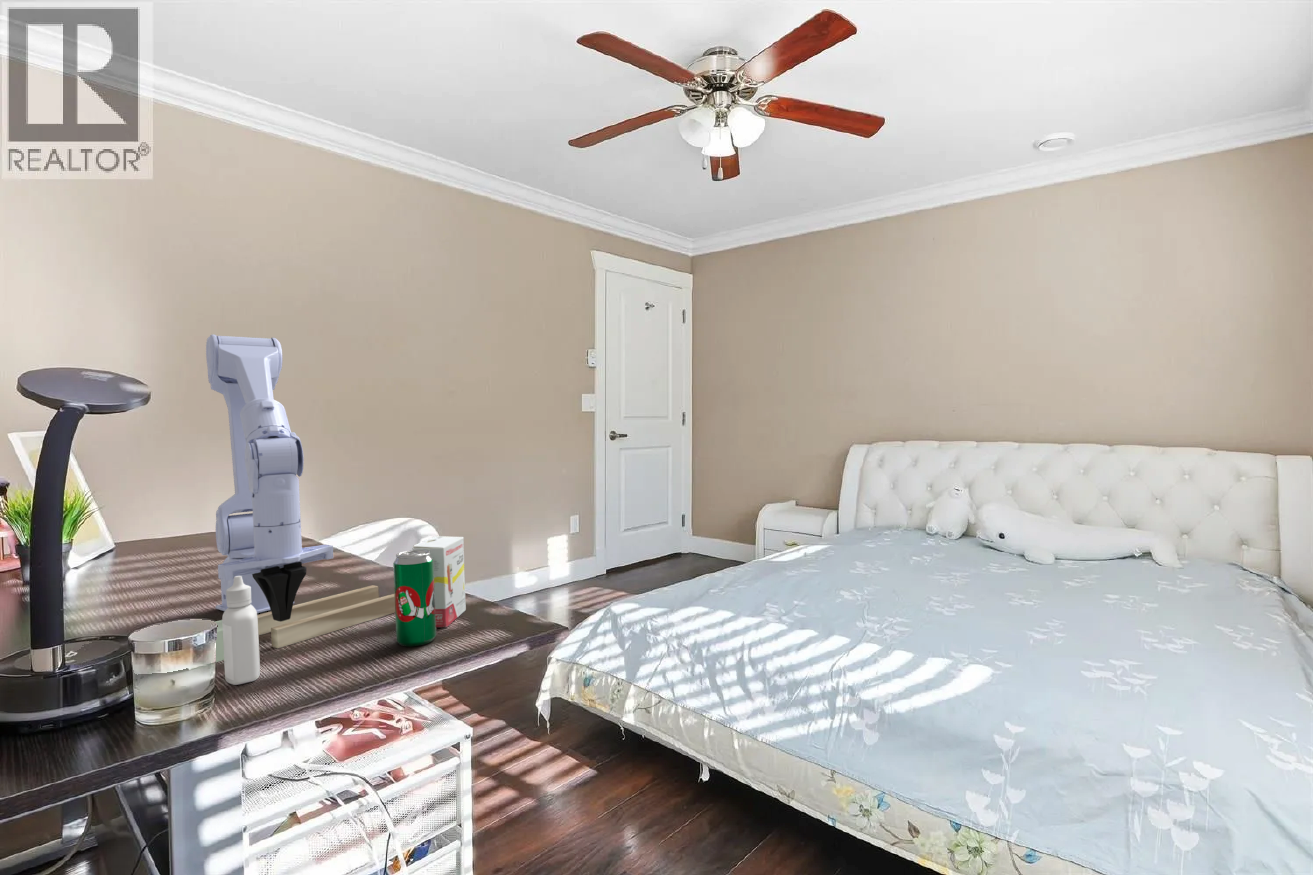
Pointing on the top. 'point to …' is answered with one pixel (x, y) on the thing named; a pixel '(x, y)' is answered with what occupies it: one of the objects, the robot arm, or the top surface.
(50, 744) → the top surface
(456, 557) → the ink box
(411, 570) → the soda can
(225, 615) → the eye dropper bottle
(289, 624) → the chute
